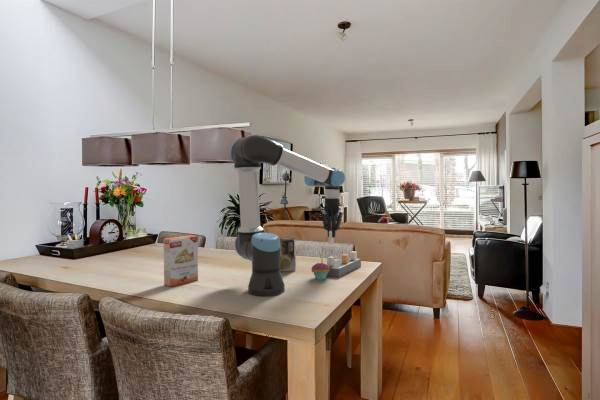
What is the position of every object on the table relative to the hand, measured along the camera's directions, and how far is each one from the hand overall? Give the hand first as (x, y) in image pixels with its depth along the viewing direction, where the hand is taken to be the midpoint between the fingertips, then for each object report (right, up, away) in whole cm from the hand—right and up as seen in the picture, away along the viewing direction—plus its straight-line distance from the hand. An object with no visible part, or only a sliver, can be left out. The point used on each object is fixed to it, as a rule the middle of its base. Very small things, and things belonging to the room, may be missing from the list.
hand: (331, 243), depth 180 cm
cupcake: (-7, -14, -17) cm, 23 cm away
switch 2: (+7, -9, -3) cm, 12 cm away
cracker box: (-70, -15, -23) cm, 75 cm away
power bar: (+6, -13, -2) cm, 15 cm away
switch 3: (+12, -9, +4) cm, 15 cm away
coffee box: (-23, -14, 0) cm, 27 cm away
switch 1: (-1, -10, -9) cm, 13 cm away
